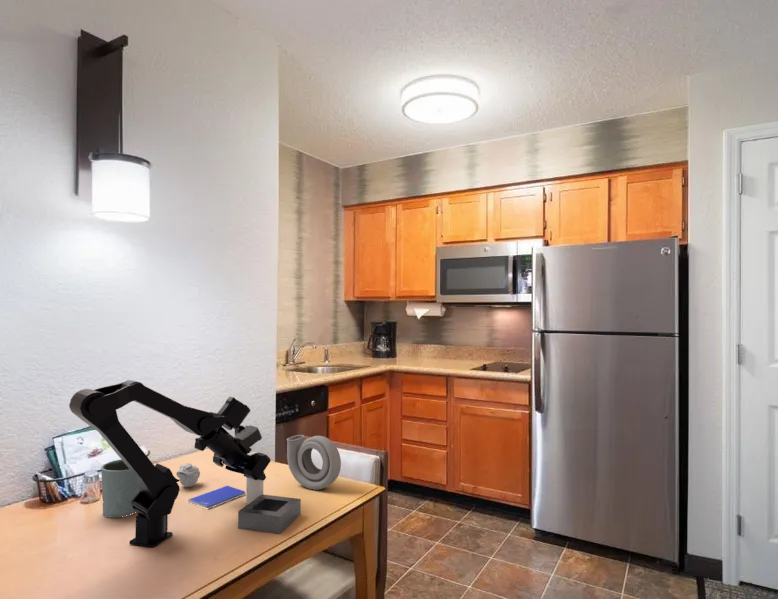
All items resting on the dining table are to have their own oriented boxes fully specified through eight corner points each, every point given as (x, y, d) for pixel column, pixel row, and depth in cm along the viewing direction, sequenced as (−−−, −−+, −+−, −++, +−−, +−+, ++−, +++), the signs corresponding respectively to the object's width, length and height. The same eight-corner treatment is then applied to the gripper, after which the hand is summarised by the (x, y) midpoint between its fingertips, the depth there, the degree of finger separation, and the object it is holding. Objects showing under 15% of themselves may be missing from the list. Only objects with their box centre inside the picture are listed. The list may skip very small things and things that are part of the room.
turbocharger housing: (344, 488, 144) (344, 437, 144) (331, 496, 138) (332, 442, 138) (297, 478, 152) (298, 429, 152) (283, 485, 146) (284, 434, 146)
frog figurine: (171, 489, 142) (171, 465, 142) (188, 481, 148) (188, 458, 149) (188, 492, 140) (188, 467, 140) (205, 484, 147) (205, 460, 147)
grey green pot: (101, 507, 129) (102, 461, 129) (144, 500, 134) (145, 456, 134) (99, 522, 120) (100, 473, 120) (145, 514, 125) (146, 467, 125)
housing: (280, 534, 115) (280, 516, 115) (238, 528, 118) (238, 511, 118) (300, 514, 126) (300, 498, 126) (261, 509, 129) (261, 494, 129)
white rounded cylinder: (258, 507, 130) (258, 457, 130) (242, 505, 131) (243, 456, 132) (266, 500, 135) (267, 452, 135) (251, 498, 136) (252, 451, 136)
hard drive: (207, 506, 128) (245, 491, 139) (188, 498, 133) (226, 484, 143) (207, 512, 128) (245, 496, 139) (188, 504, 133) (226, 490, 143)
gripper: (264, 423, 124) (298, 457, 133) (223, 413, 136) (256, 444, 145) (236, 462, 118) (274, 496, 126) (196, 447, 130) (232, 479, 138)
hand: (259, 476), depth 134 cm, fingers closed on white rounded cylinder, 4 cm apart
